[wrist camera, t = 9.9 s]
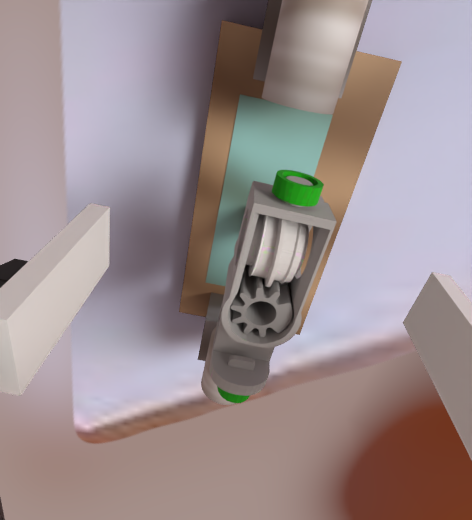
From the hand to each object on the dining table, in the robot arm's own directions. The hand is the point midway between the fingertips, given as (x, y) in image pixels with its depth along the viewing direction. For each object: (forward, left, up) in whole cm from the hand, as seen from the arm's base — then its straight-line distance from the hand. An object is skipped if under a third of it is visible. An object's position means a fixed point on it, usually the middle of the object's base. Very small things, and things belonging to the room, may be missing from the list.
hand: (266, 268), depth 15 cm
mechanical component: (+1, 0, -8) cm, 8 cm away
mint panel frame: (+1, 0, -9) cm, 9 cm away
